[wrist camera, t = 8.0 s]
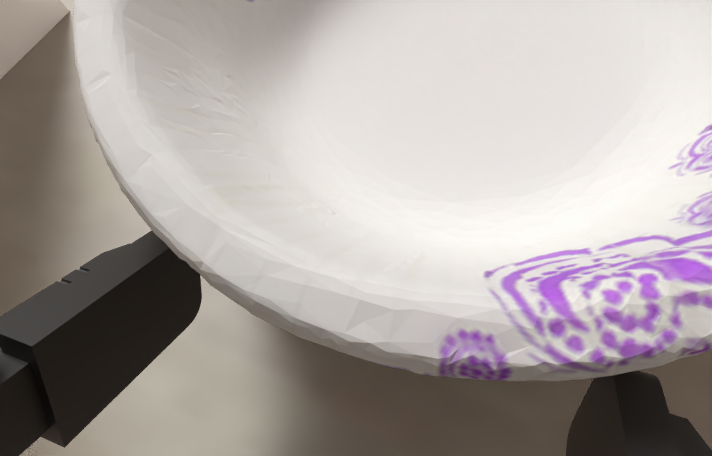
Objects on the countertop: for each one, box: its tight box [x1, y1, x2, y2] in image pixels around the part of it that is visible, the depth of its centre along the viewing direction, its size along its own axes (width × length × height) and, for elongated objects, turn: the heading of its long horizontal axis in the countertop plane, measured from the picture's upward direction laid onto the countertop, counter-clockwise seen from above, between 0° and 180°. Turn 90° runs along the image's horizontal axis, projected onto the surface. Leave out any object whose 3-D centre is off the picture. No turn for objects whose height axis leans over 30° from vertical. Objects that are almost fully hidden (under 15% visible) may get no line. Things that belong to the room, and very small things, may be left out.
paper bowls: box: [73, 0, 712, 382], centre depth 11 cm, size 15×15×8 cm
